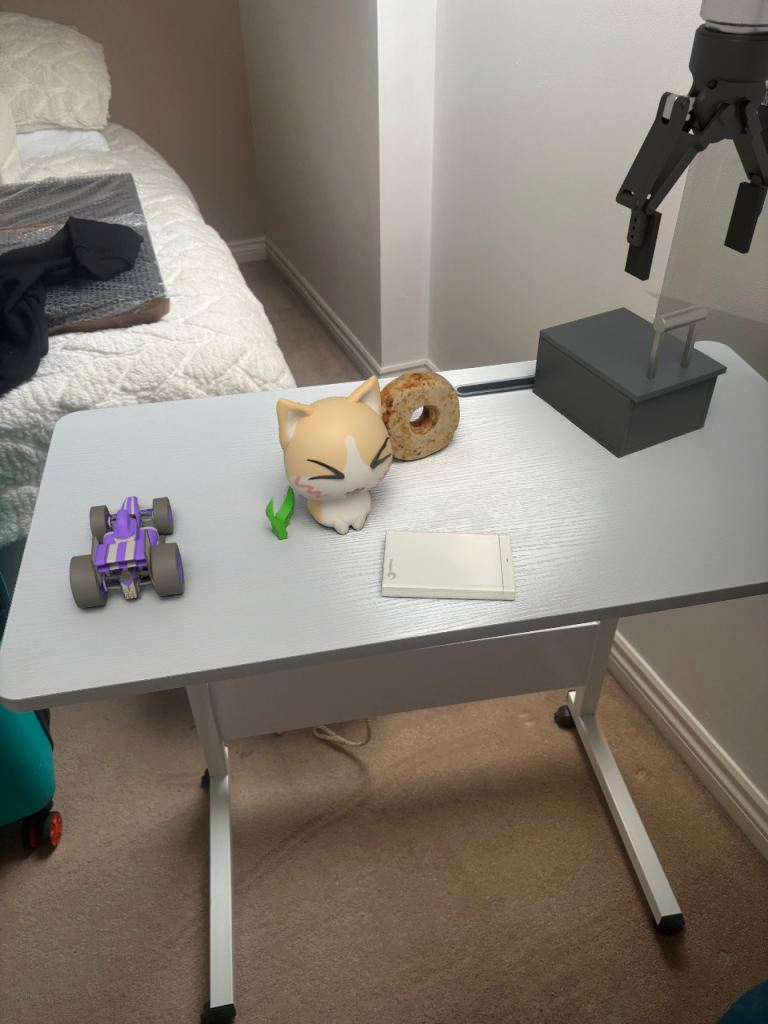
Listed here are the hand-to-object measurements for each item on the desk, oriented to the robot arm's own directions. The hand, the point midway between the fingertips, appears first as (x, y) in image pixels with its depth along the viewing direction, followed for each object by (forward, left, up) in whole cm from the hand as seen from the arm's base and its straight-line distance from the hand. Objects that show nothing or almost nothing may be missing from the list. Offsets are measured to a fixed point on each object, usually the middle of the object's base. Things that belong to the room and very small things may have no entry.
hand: (687, 262), depth 85 cm
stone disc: (+20, +20, -21) cm, 35 cm away
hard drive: (+5, +34, -21) cm, 40 cm away
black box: (+5, -3, -21) cm, 22 cm away
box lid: (+5, -3, -13) cm, 15 cm away
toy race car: (+31, +51, -21) cm, 64 cm away
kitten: (+19, +34, -21) cm, 45 cm away
